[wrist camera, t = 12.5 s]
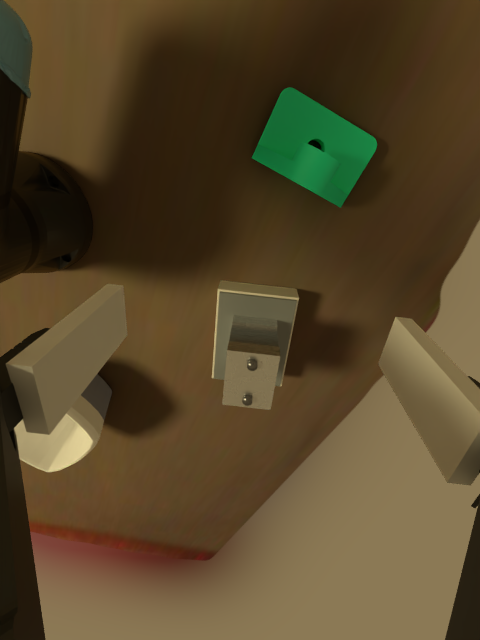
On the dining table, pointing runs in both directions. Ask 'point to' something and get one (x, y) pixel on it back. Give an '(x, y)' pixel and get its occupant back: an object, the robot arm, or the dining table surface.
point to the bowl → (68, 431)
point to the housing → (251, 363)
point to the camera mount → (307, 161)
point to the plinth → (253, 304)
